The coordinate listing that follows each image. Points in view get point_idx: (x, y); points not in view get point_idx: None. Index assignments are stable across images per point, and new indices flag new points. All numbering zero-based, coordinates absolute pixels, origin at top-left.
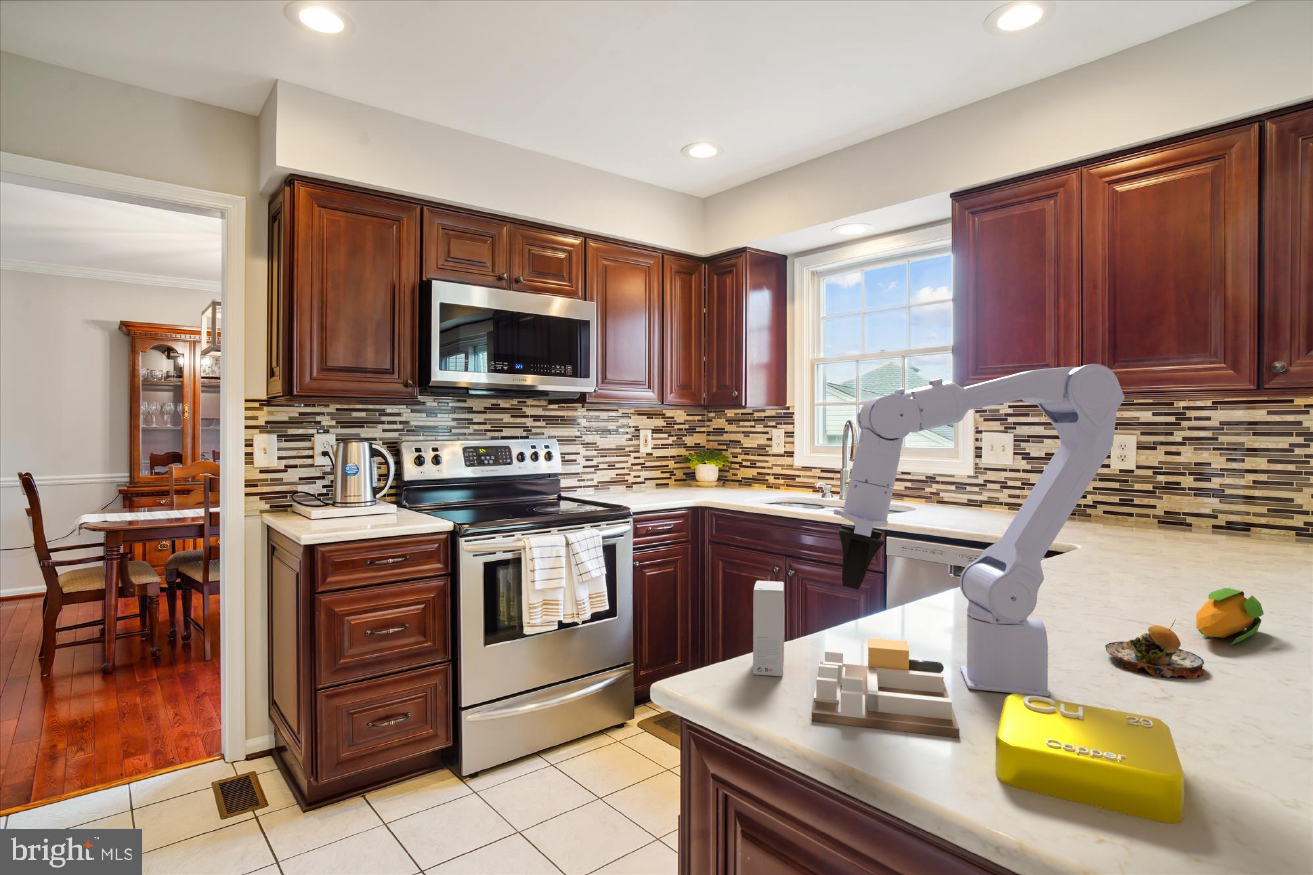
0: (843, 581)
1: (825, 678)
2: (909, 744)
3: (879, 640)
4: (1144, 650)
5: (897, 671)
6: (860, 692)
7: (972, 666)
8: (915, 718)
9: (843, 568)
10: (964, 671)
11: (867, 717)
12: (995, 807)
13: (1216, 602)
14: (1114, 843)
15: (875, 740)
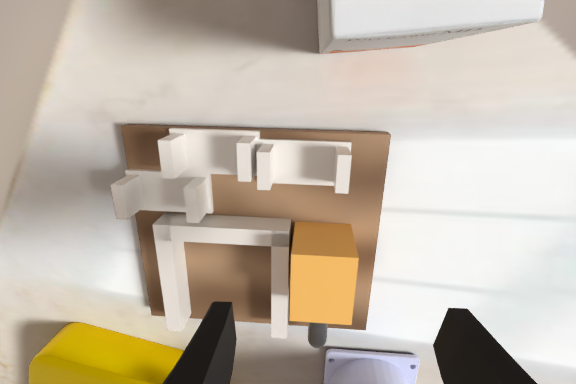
0: (205, 315)
1: (170, 157)
2: (112, 251)
3: (345, 278)
4: None
5: (278, 278)
6: (126, 216)
7: (355, 379)
8: None
9: (179, 361)
10: (390, 358)
11: (139, 210)
12: (11, 307)
13: None
14: (5, 372)
15: (104, 212)
